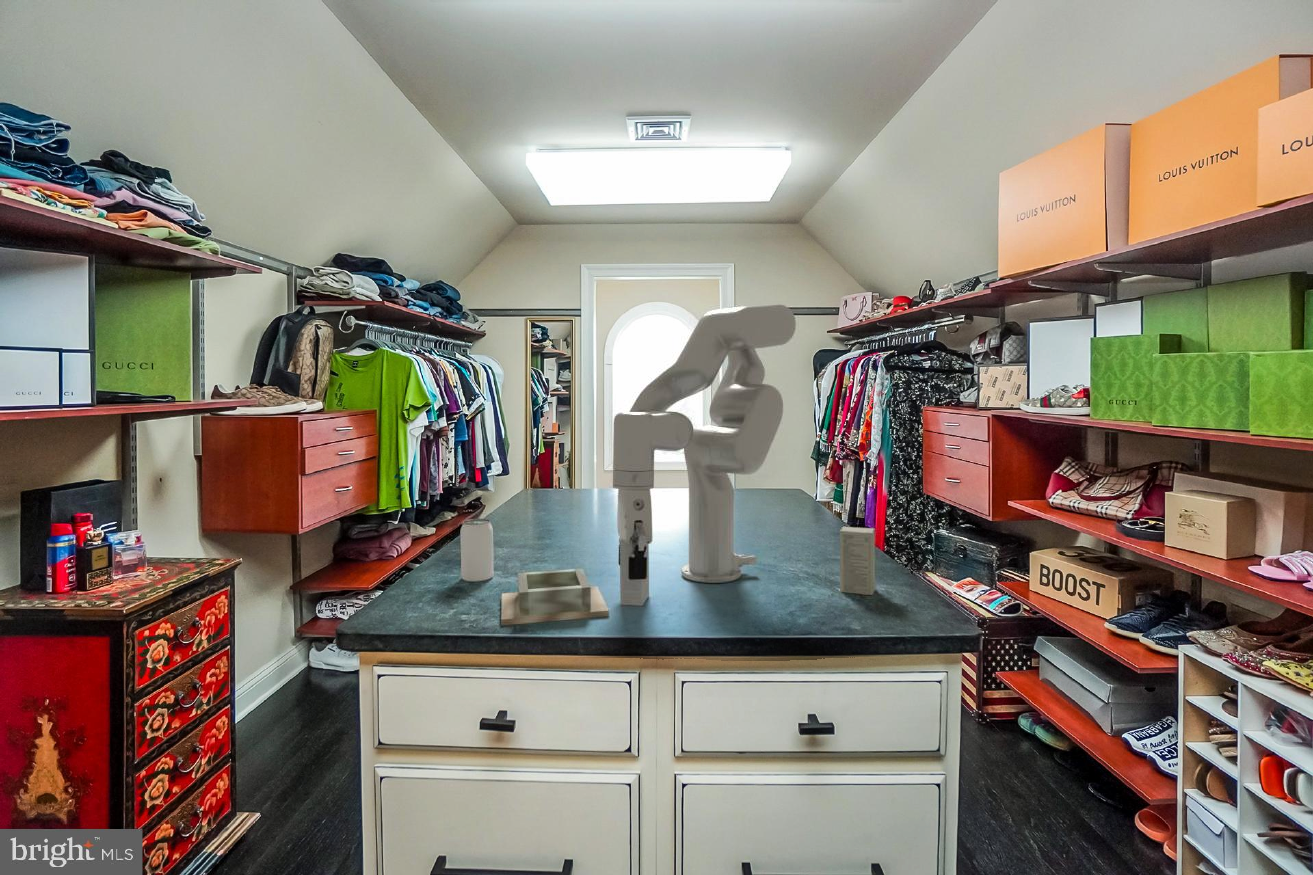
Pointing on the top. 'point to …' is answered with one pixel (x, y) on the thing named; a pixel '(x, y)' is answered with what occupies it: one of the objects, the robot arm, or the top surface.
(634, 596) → the skincare box
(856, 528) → the skincare box
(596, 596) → the bottle stand
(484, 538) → the can
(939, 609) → the top surface
